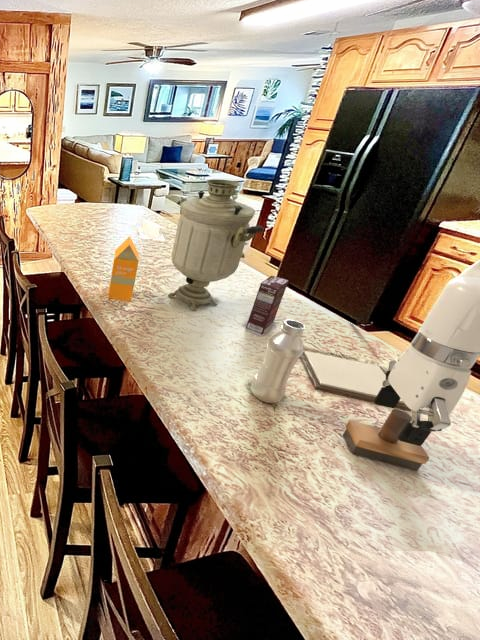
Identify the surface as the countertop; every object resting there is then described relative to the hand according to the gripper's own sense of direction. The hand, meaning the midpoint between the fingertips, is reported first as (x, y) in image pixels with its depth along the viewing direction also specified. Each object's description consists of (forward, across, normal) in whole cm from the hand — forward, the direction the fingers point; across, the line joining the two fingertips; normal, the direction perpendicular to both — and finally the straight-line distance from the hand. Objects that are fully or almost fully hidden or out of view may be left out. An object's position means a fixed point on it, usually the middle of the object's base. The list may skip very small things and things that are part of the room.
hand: (395, 422), depth 73 cm
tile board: (+8, +25, -3) cm, 27 cm away
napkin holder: (+8, +120, +48) cm, 130 cm away
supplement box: (+8, +42, +14) cm, 45 cm away
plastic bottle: (+8, +9, +18) cm, 21 cm away
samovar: (+8, +54, +29) cm, 62 cm away
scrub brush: (+8, 0, 0) cm, 8 cm away
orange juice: (+8, +48, +55) cm, 73 cm away
